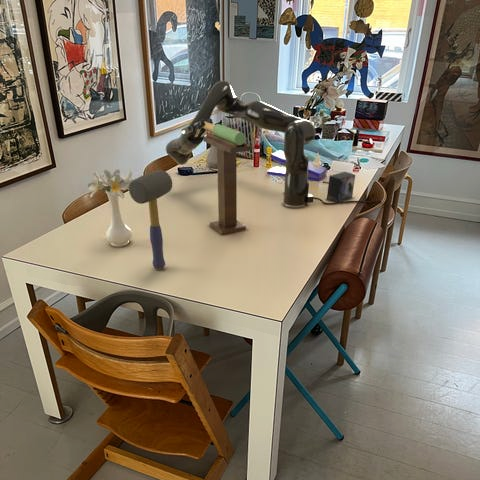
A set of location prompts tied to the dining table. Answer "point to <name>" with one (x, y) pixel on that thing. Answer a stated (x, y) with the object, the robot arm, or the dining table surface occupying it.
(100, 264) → the dining table surface
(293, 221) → the dining table surface
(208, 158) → the coffee pot
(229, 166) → the stand
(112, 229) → the flower vase
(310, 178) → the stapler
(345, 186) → the small box
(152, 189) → the rubber mallet
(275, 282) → the dining table surface
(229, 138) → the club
